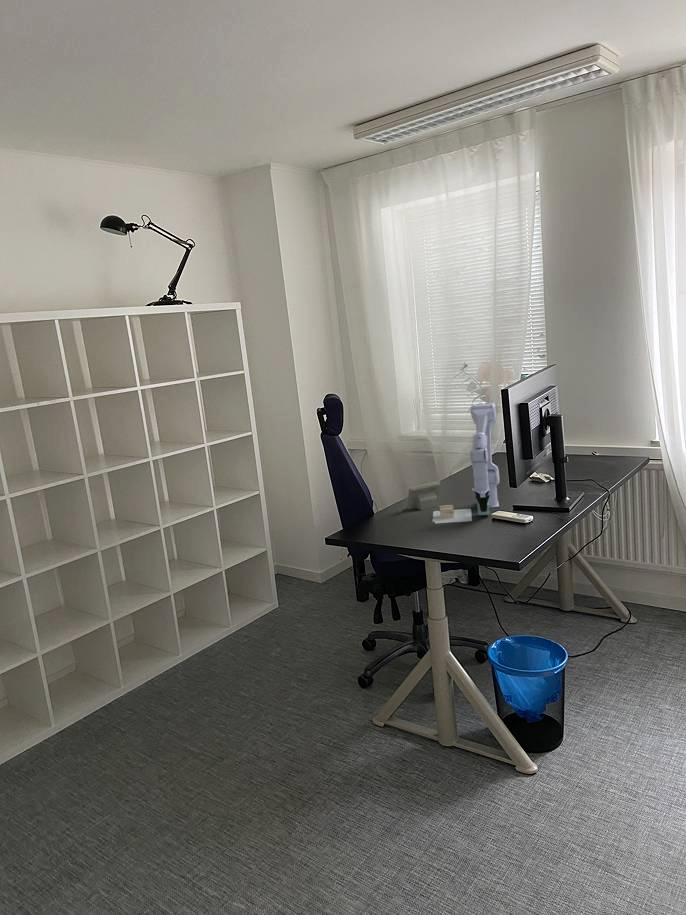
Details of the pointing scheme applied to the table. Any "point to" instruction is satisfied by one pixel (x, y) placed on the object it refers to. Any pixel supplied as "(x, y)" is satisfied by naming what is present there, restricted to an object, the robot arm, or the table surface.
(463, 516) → the board
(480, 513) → the teal block
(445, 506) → the base block
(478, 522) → the table surface
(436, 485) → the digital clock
